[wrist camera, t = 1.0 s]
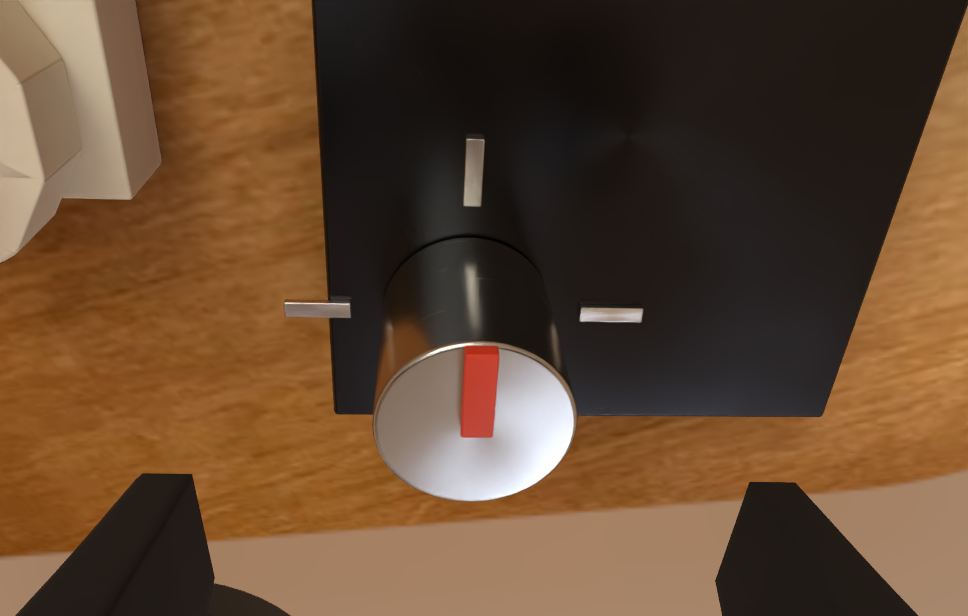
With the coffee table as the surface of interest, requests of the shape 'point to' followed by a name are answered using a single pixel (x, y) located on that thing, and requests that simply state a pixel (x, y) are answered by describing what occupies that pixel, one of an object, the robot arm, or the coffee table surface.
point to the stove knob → (471, 374)
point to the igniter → (70, 110)
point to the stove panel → (629, 178)
